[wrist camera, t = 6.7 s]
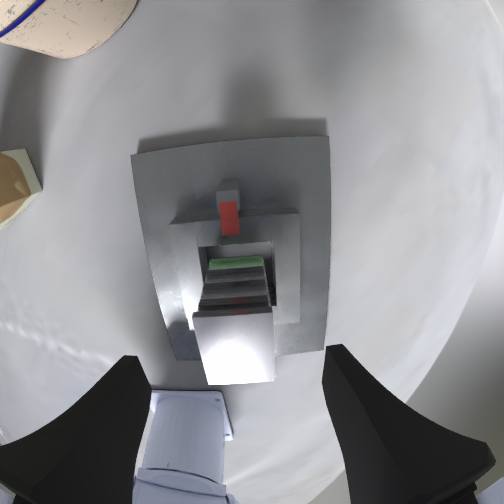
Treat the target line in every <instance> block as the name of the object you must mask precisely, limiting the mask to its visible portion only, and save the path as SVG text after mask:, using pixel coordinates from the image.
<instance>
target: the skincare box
mask: <svg viewBox="0 0 504 504" xmlns="http://www.w3.org/2000/svg"><path fill="white" fill-rule="evenodd" d="M41 192H42V188H41V186H40V183H39V181H38V178H37V176H36V174H35V171H34V169H33V166H32V164H31V161H30V159H29V156H28V154H27V151H26V149H25V148H22V149H16V150H9V151H2V152H0V230H1V229H3V228H5V227H7V226H8V225H9V224H11V223H12V222H13V221H14V220H15V219H16V218H17V217H18V216H19V215H20V214H21V213H22V212H23V211H24V210H25V209H26V208H27V207H28V205H29V204H30V203H31V202H32V201H33V200H34V199H35V198H36V197H37V196H38V195H39V194H40V193H41Z"/></svg>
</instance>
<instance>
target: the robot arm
mask: <svg viewBox="0 0 504 504" xmlns="http://www.w3.org/2000/svg"><path fill="white" fill-rule="evenodd" d="M322 385H323V391H324V396H325V400H326V405H327V408H328V411H329V414H330V417H331V420H332V423H333V426H334V429H335V432H336V435H337V438H338V441H339V444H340V447H341V451H342V454H343V458H344V463H345V469H346V474H347V480H348V486H349V492H350V500H351V504H504V477H502V478H501V479H499V480H498V481H497V482H495V483H494V484H493V485H492V486H490V487H489V488H487V489H486V490H484V491H483V492H481V493H480V494H478V495H477V496H475V495H474V491H475V490H476V489H477V487H476V484H475V481H476V480H478V479H479V478H480V477H481V476H483V475H484V474H485V473H486V472H488V471H489V470H490V469H491V468H492V467H493V466H494V465H495V462H496V460H495V458H494V456H493V454H492V452H491V450H490V448H489V447H488V445H487V444H486V443H485V442H482V441H478V440H475V439H472V438H469V437H466V436H463V435H460V434H458V433H455V432H453V431H451V430H448V429H446V428H444V427H442V426H440V425H438V424H436V423H435V422H433V421H431V420H429V419H427V418H426V417H424V416H422V415H421V414H419V413H418V412H416V411H414V410H413V409H412V408H410V407H409V406H407V405H406V404H405V403H403V402H402V401H401V400H399V399H398V398H397V397H396V396H394V395H393V394H392V393H391V392H390V391H389V390H387V389H386V388H385V387H384V386H383V385H382V384H381V383H380V382H379V381H377V380H376V379H375V378H374V377H373V376H372V375H371V374H370V373H369V372H368V371H367V370H366V369H365V368H364V367H363V366H362V365H361V364H360V363H359V361H358V360H357V359H356V358H355V357H354V356H353V355H352V354H351V353H350V352H349V351H348V350H347V348H346V347H345V346H344V345H343V344H338V345H331V346H326V353H325V362H324V369H323V377H322ZM150 407H151V409H152V411H153V413H154V417H153V421H152V425H151V429H150V433H149V437H148V441H147V445H146V450H145V454H144V458H143V463H142V467H141V468H139V469H138V473H137V478H136V475H134V471H135V463H136V458H137V454H138V450H139V446H140V442H141V439H142V435H143V432H144V428H145V424H146V421H147V417H148V414H149V409H150ZM225 440H233V433H232V430H231V426H230V422H229V419H228V415H227V411H226V407H225V403H224V399H223V395H222V393H221V392H219V391H162V390H152V388H151V386H150V384H149V382H148V380H147V377H146V375H145V373H144V371H143V368H142V366H141V364H140V361H139V359H138V357H137V356H127V355H124V356H123V357H122V358H121V359H120V360H119V361H118V362H117V363H116V364H115V365H114V366H113V367H112V368H111V369H110V370H109V371H108V372H107V373H106V374H105V375H104V376H103V377H102V378H101V379H100V380H99V381H98V382H97V383H96V384H95V385H94V386H93V387H92V388H91V389H90V390H89V391H88V392H87V393H86V394H85V395H83V396H82V397H81V398H80V399H79V400H78V401H77V402H76V403H75V404H74V405H72V406H71V407H70V408H69V409H68V410H66V411H65V412H64V413H63V414H61V415H60V416H59V417H57V418H56V419H54V420H53V421H51V422H50V423H48V424H47V425H45V426H43V427H42V428H40V429H39V430H37V431H35V432H33V433H31V434H29V435H27V436H25V437H23V438H21V439H19V440H17V441H14V442H11V443H9V444H6V445H3V446H0V483H2V484H3V485H4V486H5V487H7V488H8V489H9V490H11V491H12V492H14V493H15V494H16V496H15V498H13V497H12V496H10V495H9V494H7V493H6V492H4V491H3V490H1V489H0V504H239V503H238V501H237V500H236V499H235V498H234V496H233V495H232V494H226V485H223V484H222V482H223V474H224V445H225Z"/></svg>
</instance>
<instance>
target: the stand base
mask: <svg viewBox="0 0 504 504" xmlns="http://www.w3.org/2000/svg"><path fill="white" fill-rule="evenodd" d="M130 156H131V164H132V171H133V178H134V185H135V192H136V198H137V204H138V210H139V215H140V221H141V226H142V231H143V236H144V241H145V246H146V250H147V255H148V260H149V264H150V268H151V272H152V277H153V281H154V285H155V289H156V293H157V296H158V300H159V304H160V308H161V311H162V315H163V318H164V322H165V325H166V329H167V332H168V335H169V339H170V342H171V345H172V348H173V351H174V354H175V357H176V360H202V358H201V354H200V350H199V346H198V342H197V338H196V334H195V330H194V326H193V321H192V315H193V312H197V310H198V305H199V301H200V298H201V294H202V290H203V285H204V282H205V278H206V273H207V270H208V263H207V257H206V250H205V246H217V245H229V244H241V243H254V242H266V241H271V252H272V271H273V287H268V291H269V297H270V303H271V307H272V310H273V326H274V349H275V356H277V355H287V354H296V353H305V352H313V351H320V350H324V340H325V329H326V317H327V304H328V288H329V268H330V237H331V179H330V148H329V136H298V137H272V138H256V139H243V140H231V141H221V142H212V143H204V144H196V145H188V146H181V147H175V148H168V149H162V150H156V151H151V152H145V153H140V154H135V155H130Z"/></svg>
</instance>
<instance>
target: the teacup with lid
mask: <svg viewBox="0 0 504 504" xmlns="http://www.w3.org/2000/svg"><path fill="white" fill-rule="evenodd" d="M136 2H137V0H0V43H5V44H9V45H13V46H17V47H21V48H25V49H29V50H33V51H36V52H40V53H43V54H46V55H50V56H53V57H56V58H63V59H64V58H73V57H77V56H80V55H83V54H85V53H87V52H89V51H91V50H93V49H95V48H96V47H98V46H99V45H101V44H102V43H104V42H105V41H106V40H107V39H109V38H110V37H111V36H112V35H113V34H114V33H115V32H116V31H117V30H118V29H119V28H120V27H121V26H122V25H123V24H124V22H125V21H126V20H127V18H128V17H129V15H130V14H131V12H132V11H133V9H134V7H135V5H136Z"/></svg>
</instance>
